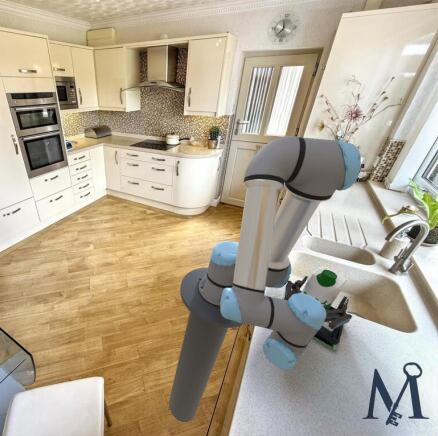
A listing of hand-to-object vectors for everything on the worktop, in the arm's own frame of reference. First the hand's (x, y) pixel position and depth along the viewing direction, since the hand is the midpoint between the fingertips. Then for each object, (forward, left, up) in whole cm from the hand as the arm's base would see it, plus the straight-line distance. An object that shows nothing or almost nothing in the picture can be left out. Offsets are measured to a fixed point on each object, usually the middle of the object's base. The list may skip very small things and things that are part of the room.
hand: (323, 288), depth 79 cm
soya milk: (0, 0, -13) cm, 13 cm away
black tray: (+1, 0, -15) cm, 16 cm away
